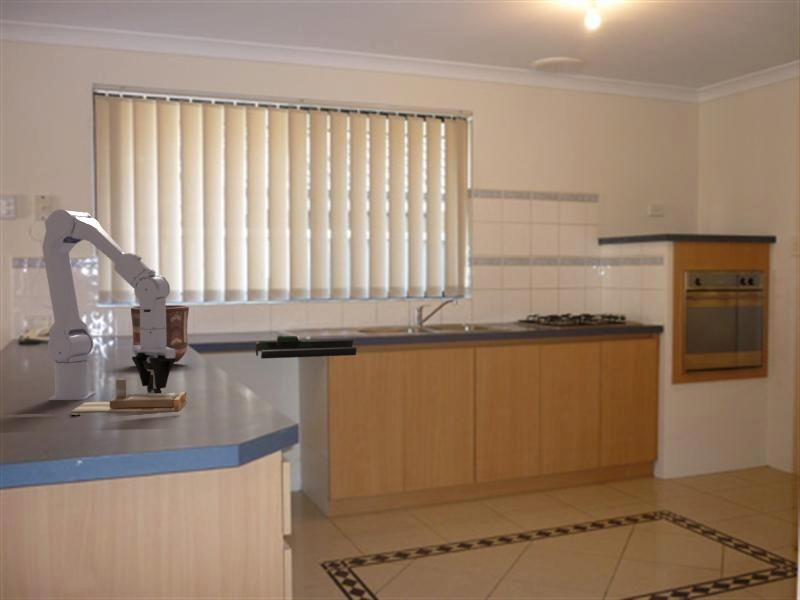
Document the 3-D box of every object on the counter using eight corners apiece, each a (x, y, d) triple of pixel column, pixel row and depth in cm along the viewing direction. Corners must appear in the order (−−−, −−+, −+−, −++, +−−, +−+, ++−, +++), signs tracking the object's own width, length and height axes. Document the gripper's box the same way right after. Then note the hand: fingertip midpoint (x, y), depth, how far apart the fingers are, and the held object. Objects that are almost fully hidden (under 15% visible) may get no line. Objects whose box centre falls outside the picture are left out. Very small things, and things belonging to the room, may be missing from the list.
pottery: (172, 365, 246) (171, 308, 245) (121, 364, 249) (120, 307, 249) (198, 359, 263) (197, 305, 262) (150, 357, 267) (149, 304, 266)
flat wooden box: (85, 406, 176) (85, 393, 176) (186, 404, 179) (186, 391, 179) (70, 416, 165) (70, 401, 165) (178, 413, 168) (178, 399, 168)
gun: (358, 361, 275) (361, 342, 271) (257, 365, 263) (258, 345, 260) (354, 351, 280) (356, 332, 276) (254, 355, 269) (256, 335, 265)
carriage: (118, 401, 176) (118, 376, 175) (178, 400, 177) (178, 375, 177) (109, 407, 168) (109, 382, 167) (172, 406, 169) (172, 381, 169)
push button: (169, 403, 181) (170, 360, 180) (145, 404, 179) (146, 360, 178) (162, 396, 187) (164, 355, 186) (139, 398, 184) (141, 355, 184)
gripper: (120, 327, 184) (121, 385, 184) (155, 331, 174) (156, 392, 175) (147, 325, 189) (148, 382, 190) (182, 329, 180) (183, 388, 180)
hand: (153, 386), depth 183 cm, fingers closed on push button, 5 cm apart
